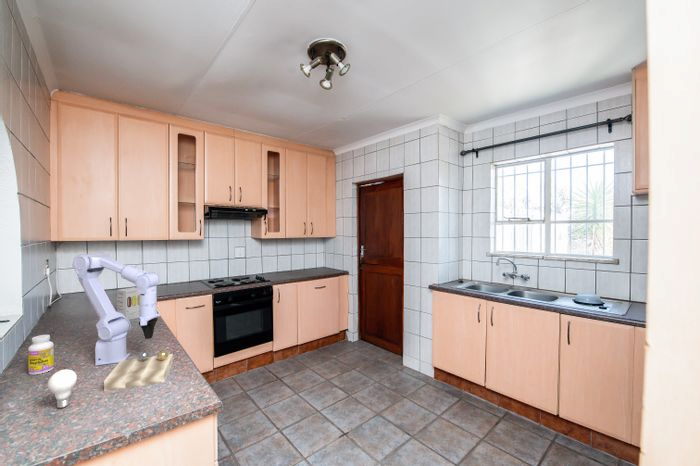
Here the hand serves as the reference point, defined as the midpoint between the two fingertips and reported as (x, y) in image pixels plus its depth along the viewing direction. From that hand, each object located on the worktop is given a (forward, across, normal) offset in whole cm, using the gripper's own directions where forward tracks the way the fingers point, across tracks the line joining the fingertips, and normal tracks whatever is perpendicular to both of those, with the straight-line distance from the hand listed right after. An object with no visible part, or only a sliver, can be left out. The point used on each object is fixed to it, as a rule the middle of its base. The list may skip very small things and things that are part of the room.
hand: (148, 338), depth 121 cm
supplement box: (+10, +70, +25) cm, 75 cm away
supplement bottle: (+10, +4, +35) cm, 37 cm away
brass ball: (+4, -10, -6) cm, 12 cm away
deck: (+9, -12, 0) cm, 16 cm away
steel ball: (+4, -8, 0) cm, 8 cm away
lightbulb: (+10, -26, +16) cm, 32 cm away
